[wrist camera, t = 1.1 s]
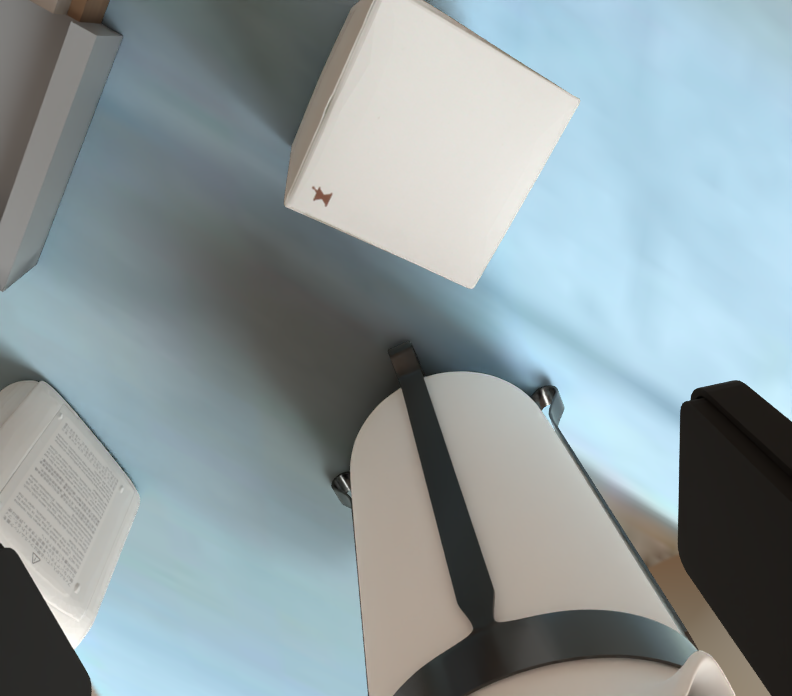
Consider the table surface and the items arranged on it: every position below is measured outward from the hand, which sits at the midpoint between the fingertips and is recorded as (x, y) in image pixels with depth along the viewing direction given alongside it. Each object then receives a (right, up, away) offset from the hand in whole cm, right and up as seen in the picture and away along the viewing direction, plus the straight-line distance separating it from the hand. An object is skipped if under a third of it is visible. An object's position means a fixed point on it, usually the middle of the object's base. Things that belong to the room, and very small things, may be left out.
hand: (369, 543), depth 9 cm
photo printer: (-18, -3, +29) cm, 34 cm away
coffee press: (+3, -4, +32) cm, 32 cm away
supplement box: (0, +14, +23) cm, 27 cm away
